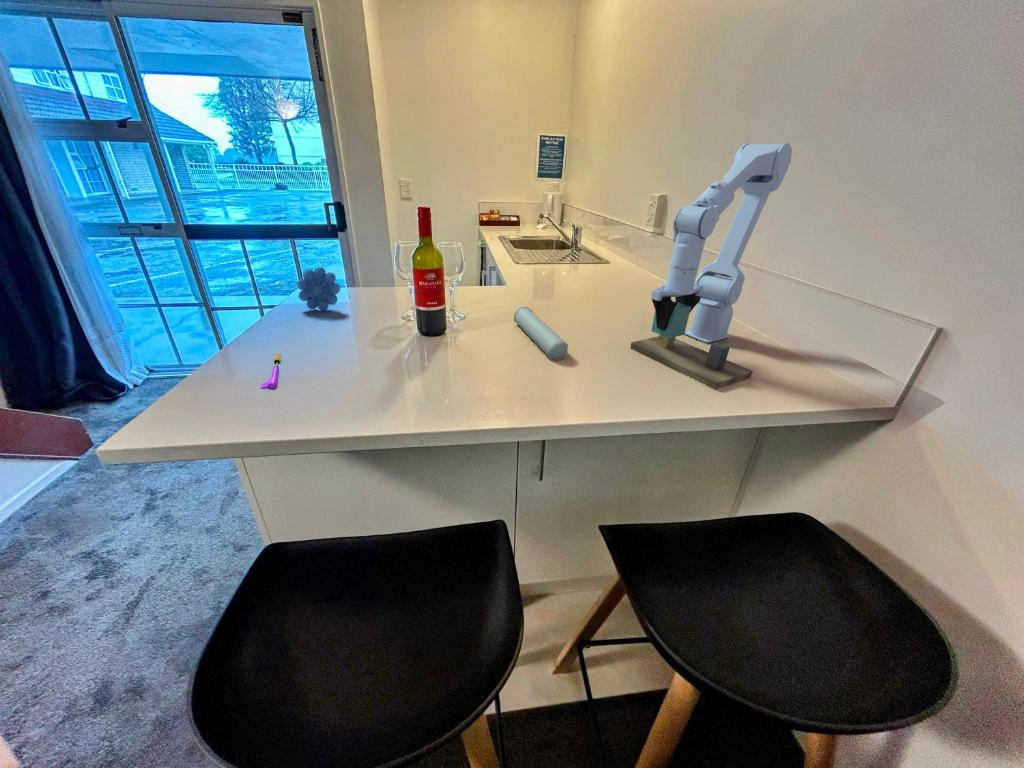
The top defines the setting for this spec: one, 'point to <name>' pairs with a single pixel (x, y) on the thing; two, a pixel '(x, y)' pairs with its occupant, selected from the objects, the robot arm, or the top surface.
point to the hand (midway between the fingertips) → (669, 327)
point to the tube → (541, 333)
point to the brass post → (666, 341)
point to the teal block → (674, 322)
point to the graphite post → (717, 356)
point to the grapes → (318, 288)
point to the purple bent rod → (273, 375)
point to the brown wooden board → (691, 362)
